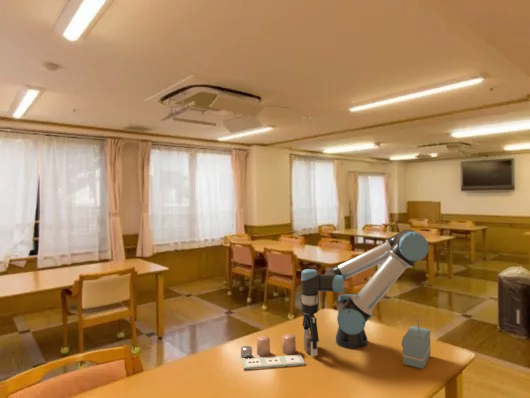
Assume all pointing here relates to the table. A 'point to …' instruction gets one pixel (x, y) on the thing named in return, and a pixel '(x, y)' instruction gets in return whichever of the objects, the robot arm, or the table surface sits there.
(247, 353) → the tin
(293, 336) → the peach capsule
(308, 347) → the walnut block
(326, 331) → the table surface
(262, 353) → the pink capsule pill
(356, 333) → the robot arm
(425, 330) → the radio
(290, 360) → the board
